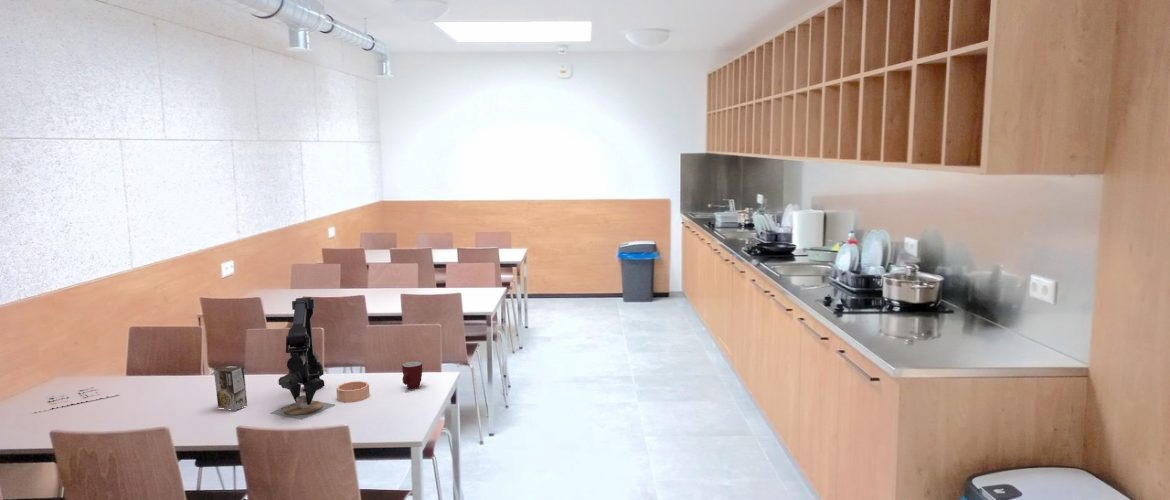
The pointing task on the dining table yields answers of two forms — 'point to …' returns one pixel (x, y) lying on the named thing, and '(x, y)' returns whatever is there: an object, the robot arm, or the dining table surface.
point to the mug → (412, 374)
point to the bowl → (353, 391)
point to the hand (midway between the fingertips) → (303, 403)
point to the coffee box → (230, 387)
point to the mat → (281, 412)
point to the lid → (302, 407)
